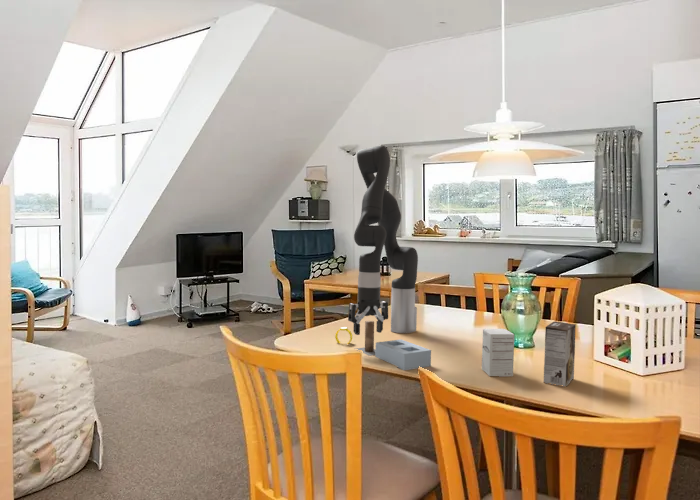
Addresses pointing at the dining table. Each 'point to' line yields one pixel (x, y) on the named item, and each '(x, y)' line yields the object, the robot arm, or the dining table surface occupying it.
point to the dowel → (369, 336)
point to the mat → (367, 352)
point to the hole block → (403, 354)
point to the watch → (343, 330)
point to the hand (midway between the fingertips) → (368, 333)
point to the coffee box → (559, 353)
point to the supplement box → (498, 352)
